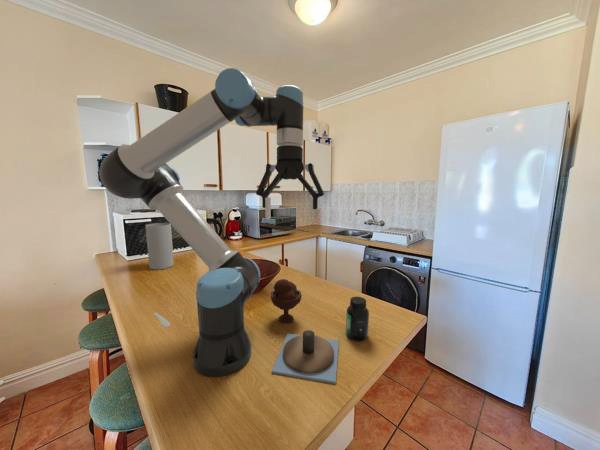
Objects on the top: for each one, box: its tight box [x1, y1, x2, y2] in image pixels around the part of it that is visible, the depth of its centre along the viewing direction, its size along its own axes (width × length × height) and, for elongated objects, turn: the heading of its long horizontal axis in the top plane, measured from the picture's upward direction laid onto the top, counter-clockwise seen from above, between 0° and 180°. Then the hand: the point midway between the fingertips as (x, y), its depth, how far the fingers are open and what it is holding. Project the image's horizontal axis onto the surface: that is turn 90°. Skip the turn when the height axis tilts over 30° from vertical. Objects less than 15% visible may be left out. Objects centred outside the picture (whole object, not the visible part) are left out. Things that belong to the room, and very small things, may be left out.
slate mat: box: [271, 333, 340, 385], centre depth 66 cm, size 16×16×1 cm
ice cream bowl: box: [270, 278, 303, 324], centre depth 84 cm, size 11×11×15 cm
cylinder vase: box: [145, 222, 175, 271], centre depth 138 cm, size 12×12×25 cm
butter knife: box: [153, 312, 171, 328], centre depth 88 cm, size 1×27×3 cm
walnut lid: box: [283, 329, 334, 373], centre depth 66 cm, size 14×14×6 cm
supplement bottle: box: [345, 296, 370, 342], centre depth 75 cm, size 7×7×12 cm
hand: (289, 219), depth 72 cm, fingers open, 13 cm apart
